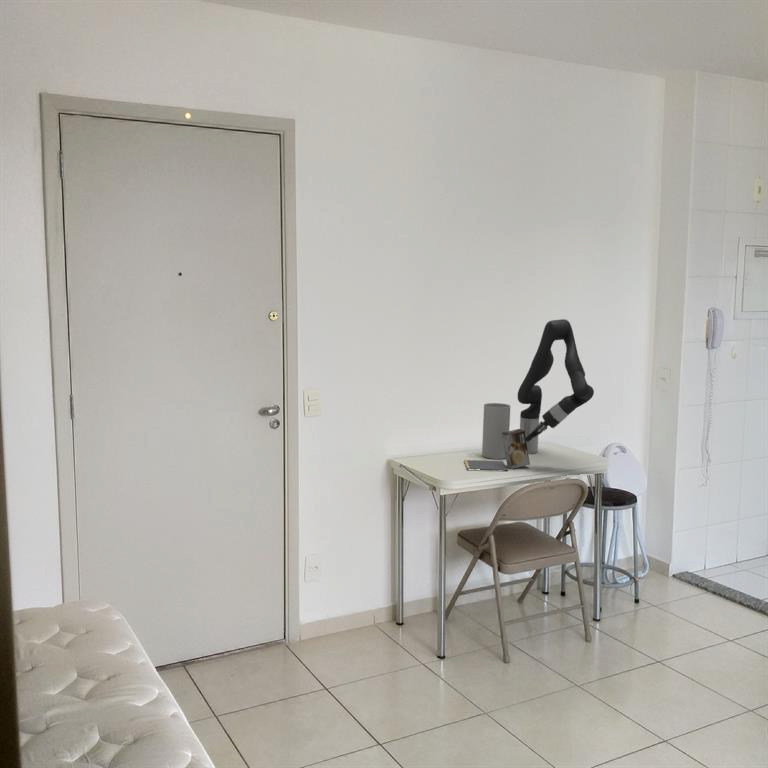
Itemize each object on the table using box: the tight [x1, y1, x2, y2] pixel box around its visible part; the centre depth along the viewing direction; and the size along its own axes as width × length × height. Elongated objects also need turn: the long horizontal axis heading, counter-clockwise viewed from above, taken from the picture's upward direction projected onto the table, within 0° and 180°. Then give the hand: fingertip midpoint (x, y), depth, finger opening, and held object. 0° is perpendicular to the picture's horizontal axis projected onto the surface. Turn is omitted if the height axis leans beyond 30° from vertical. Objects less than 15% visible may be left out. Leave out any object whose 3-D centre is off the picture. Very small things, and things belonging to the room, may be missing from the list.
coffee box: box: [502, 428, 531, 470], centre depth 359 cm, size 9×6×16 cm
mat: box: [463, 459, 509, 472], centre depth 360 cm, size 16×18×1 cm
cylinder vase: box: [481, 402, 511, 460], centre depth 378 cm, size 12×12×25 cm
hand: (526, 440), depth 357 cm, fingers closed
